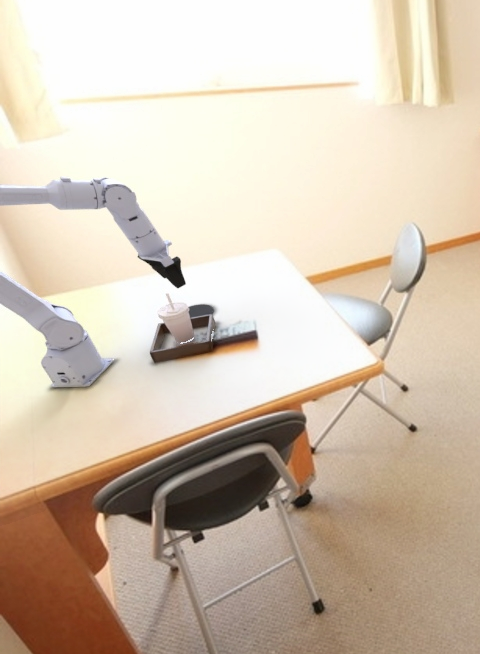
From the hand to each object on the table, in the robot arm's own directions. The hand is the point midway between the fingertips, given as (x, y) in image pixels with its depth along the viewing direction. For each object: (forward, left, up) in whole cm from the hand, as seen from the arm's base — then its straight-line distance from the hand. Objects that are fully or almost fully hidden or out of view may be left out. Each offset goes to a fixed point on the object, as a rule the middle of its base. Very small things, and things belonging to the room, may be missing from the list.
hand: (174, 280), depth 118 cm
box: (-6, -1, -14) cm, 15 cm away
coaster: (+7, +3, -14) cm, 16 cm away
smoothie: (-6, -1, -14) cm, 15 cm away
